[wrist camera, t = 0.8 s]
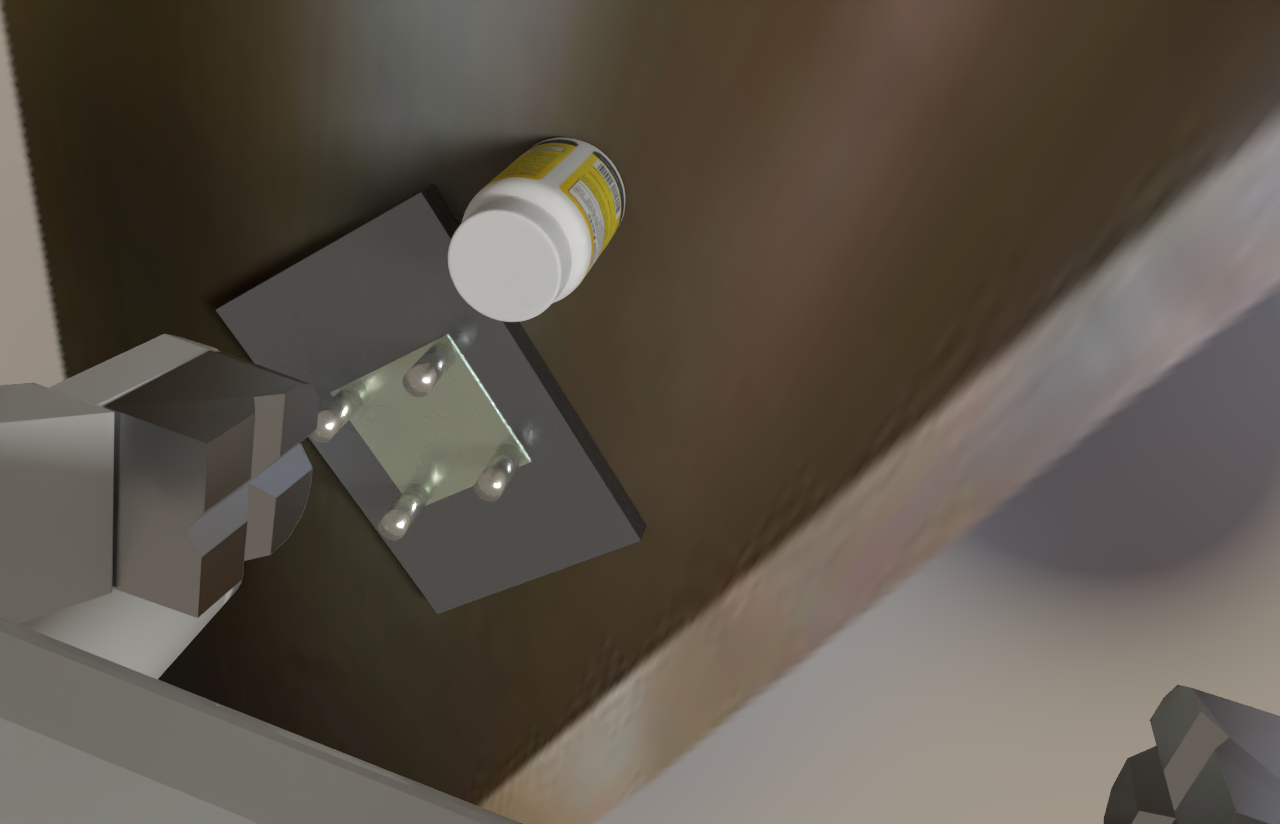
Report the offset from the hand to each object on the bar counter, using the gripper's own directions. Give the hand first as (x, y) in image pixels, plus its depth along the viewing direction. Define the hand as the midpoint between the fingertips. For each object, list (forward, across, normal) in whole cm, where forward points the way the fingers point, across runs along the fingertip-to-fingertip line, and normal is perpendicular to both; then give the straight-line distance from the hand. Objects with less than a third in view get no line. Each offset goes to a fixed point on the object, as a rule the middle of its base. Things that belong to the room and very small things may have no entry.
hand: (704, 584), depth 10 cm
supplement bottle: (+32, +11, +6) cm, 34 cm away
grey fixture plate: (+32, +15, +18) cm, 40 cm away
